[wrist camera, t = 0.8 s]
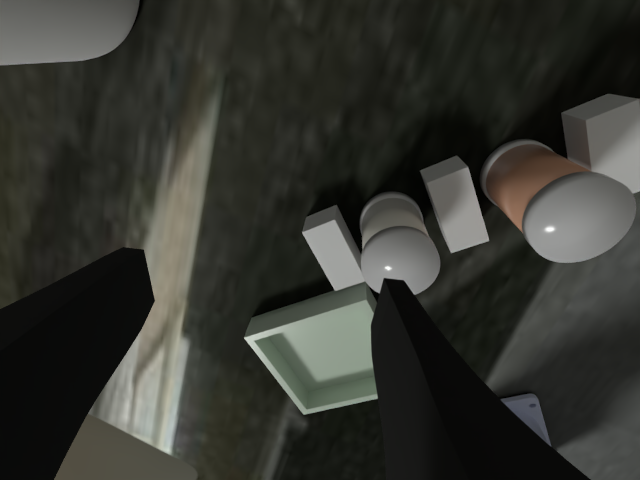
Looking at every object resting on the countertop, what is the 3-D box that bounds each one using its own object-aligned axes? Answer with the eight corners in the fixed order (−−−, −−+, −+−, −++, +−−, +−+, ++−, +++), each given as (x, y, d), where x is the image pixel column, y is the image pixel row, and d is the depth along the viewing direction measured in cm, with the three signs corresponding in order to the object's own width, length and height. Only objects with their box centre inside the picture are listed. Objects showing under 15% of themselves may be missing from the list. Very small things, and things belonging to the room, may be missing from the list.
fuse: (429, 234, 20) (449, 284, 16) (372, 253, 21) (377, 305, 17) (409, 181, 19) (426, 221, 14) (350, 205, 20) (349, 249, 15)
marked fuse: (556, 189, 18) (638, 244, 13) (488, 213, 19) (537, 274, 14) (546, 126, 17) (633, 161, 11) (472, 156, 18) (521, 200, 12)
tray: (409, 367, 26) (413, 390, 24) (306, 392, 28) (303, 414, 27) (365, 280, 22) (366, 299, 20) (251, 317, 25) (243, 337, 23)
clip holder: (788, 116, 16) (843, 124, 14) (336, 272, 22) (335, 291, 20) (803, 13, 14) (868, 8, 12) (306, 217, 20) (302, 232, 19)
